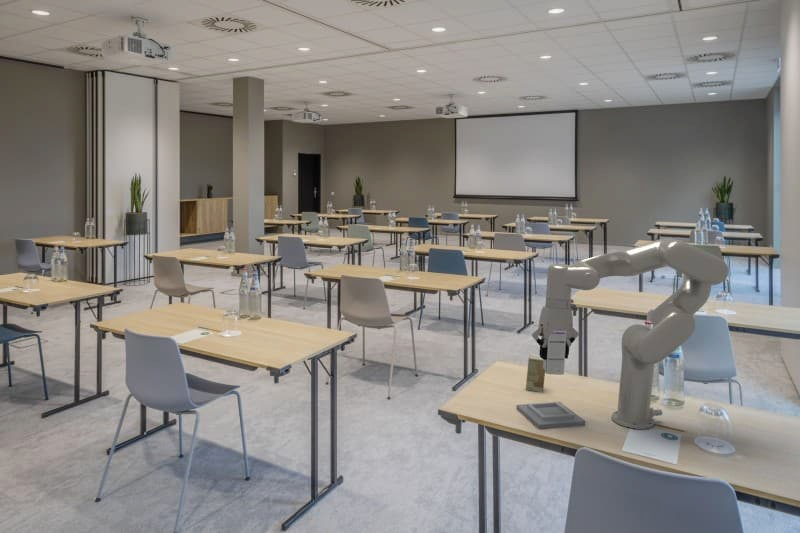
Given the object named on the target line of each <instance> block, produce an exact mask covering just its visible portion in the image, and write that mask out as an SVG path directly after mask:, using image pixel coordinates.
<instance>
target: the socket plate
mask: <svg viewBox="0 0 800 533" xmlns="http://www.w3.org/2000/svg"><path fill="white" fill-rule="evenodd" d="M515 409H516V411H517V412H519V413H520V414H521V415H522V416H523V417H525V418H526V419H527V420H528V421H529V422H530V423H531V424H532V425H534V426H535V428H537V429H538V430H547V429H561V428H570V427H571V428H573V427H582V426H583V427H584V426H586V422H587V421H586V420H585V419H584V418H582V417H581V416H579V415H578V414H577V413H575V412H574V411H573V410H572V409H570V408H569V407H567V406H566V405H565V404H564V403H562V402H561V401H548V402H534V403H524V404H516V408H515Z"/></svg>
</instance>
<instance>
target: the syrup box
mask: <svg viewBox="0 0 800 533" xmlns="http://www.w3.org/2000/svg"><path fill="white" fill-rule="evenodd" d="M565 347H566V330H555V331H553V332H552V333H551V335H550V337H549V339H548V343H547V345H546V348H547V359H546V360H544V359H543V369H544V371H545V375H546V374H547V375H557V376H558V375H564V373H565V365H566V364H565V363H566V358H565Z"/></svg>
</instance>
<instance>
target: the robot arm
mask: <svg viewBox="0 0 800 533" xmlns="http://www.w3.org/2000/svg"><path fill="white" fill-rule="evenodd" d="M665 267H666V268H667V267H668V268H671V269H672V270H673V269H674V270H675V271H678V272H679V273H681V274H683V275H684V278H683V282H682V284H681V285H680V287H678V289H676V290H675V292H673V294H671V295H670V296H669V297H668V298H666V299H665V300H664V301H663V302H662V303H660V304H659V305H658V306H657V307H655V309H654V310H652V312H651V314H650V322H651V324H652V326H653V327H652V328H649V326H646V325H645V324H639V323H638V324H632V325H630V326H628V327H627V328H626V329H625V330H624V331H623V334H622V336H621V369H620V378H619V379H620V380H619V390H618V400H617V410H616V411H614V412H612V414H611V419H612V421H613V422H615V423H616V424H618V425H620V426H623V427H626V428H628V427H629V429H633V428H635V429H636V430H648V429H651V428H653V426H654V419H653V418H654V417H655V416H656V417H658V416H662V415H663V410H662V409H654V407H651V400H652V392H653V390H652V389H653V381H654V380H653V379H654V373H655V372H654V369H655V364H659V363H660V362H662V361H663V360H665V359H666V358H668V356H671V354H673V353H674V352H675V351H677V349H679V348H680V347H681V346H682V345H684V344H685V343H686V342H687V341H688V340H689V339H690V338H691V337H692V335H693V334H694V332H695V330H696V320H695V317H694V315H695V314H696V313H697V312H698V311H699V310H700V309H701V308H702V307H703V306H704V305H705V304H706V303H707V301H708V299H709V298H710V295H711V292H712V291H711V290H712V286H717V285H720V284H721V283H724V281H726V279H728V275H729V267H728V264H727V263H726V262H725V261H724V260H723V259H722V258H720V257H719V256H717V255H713V254H711V253H710V252H707V251H705V250H703V249H700V248H698V247H696V246H694V245H692V244H689V243H688V242H686V241H684V240H680V239H676V238H673V237H663V238H660V239H656V240H654V241H650V242H648V243H644V244H640V245H637V246H633V247H631V248H626V249H623V250H617V251H614V252H609V253H603V254H599V255H595V256H593V257H588V258H585V259H582V260H579V261H577V262H576V261H575V262H574V263H573V264H572V265H569V264H565V263H553V264H550V265H549V266H548V267H547V273H546V274H547V275H546V276H547V277H546V290H545V291H546V292H545V304H544V305H545V306H544V305H543V306H542V308H541V310H540V315H539V320H538V328H537V329H536V330H535V331H534V332H532V334H531V337H532V338H533V339H534V340H535V342H536V343H537V344H538V346H539V355H538V356H540V357H541V358H542V359H544V360H546V359H547V348H546V345H547V343H548V339H549V337H550V335H551V333H552V332H553V331H555V330H566V347H565V360H566V359H569V355H570V347H571V346H572V344H573V343H574V342H575V340H576V339H577V338H578V337H579V335H580V333H579V332H578V331H577V330H576V329H575V328H574V319H573V311H572V307H571V304H572V305H573V304H574V299H573V298H572V289H576V290H582V291H591V290H593V289H594V290H595V288H597V287H598V286H599V284H600V282H601V279H603V278H608V277H635V276H639V275H641V274H646V273H647V272H651V271H655V270H656V271H657V270H658V269H663V268H665ZM540 337H541V338H540ZM647 428H648V429H647Z"/></svg>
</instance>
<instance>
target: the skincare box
mask: <svg viewBox="0 0 800 533" xmlns="http://www.w3.org/2000/svg"><path fill="white" fill-rule="evenodd" d="M527 360H528V363H527V372H526V383H525V390H526V391H533V392H538V393H543V392H544V389H545V388H544V387H545V386H544V385H545V377H546V372H545V371H544V369H543V359H542V358H541V357H540V355H532V354H529V356H528V359H527Z"/></svg>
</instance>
